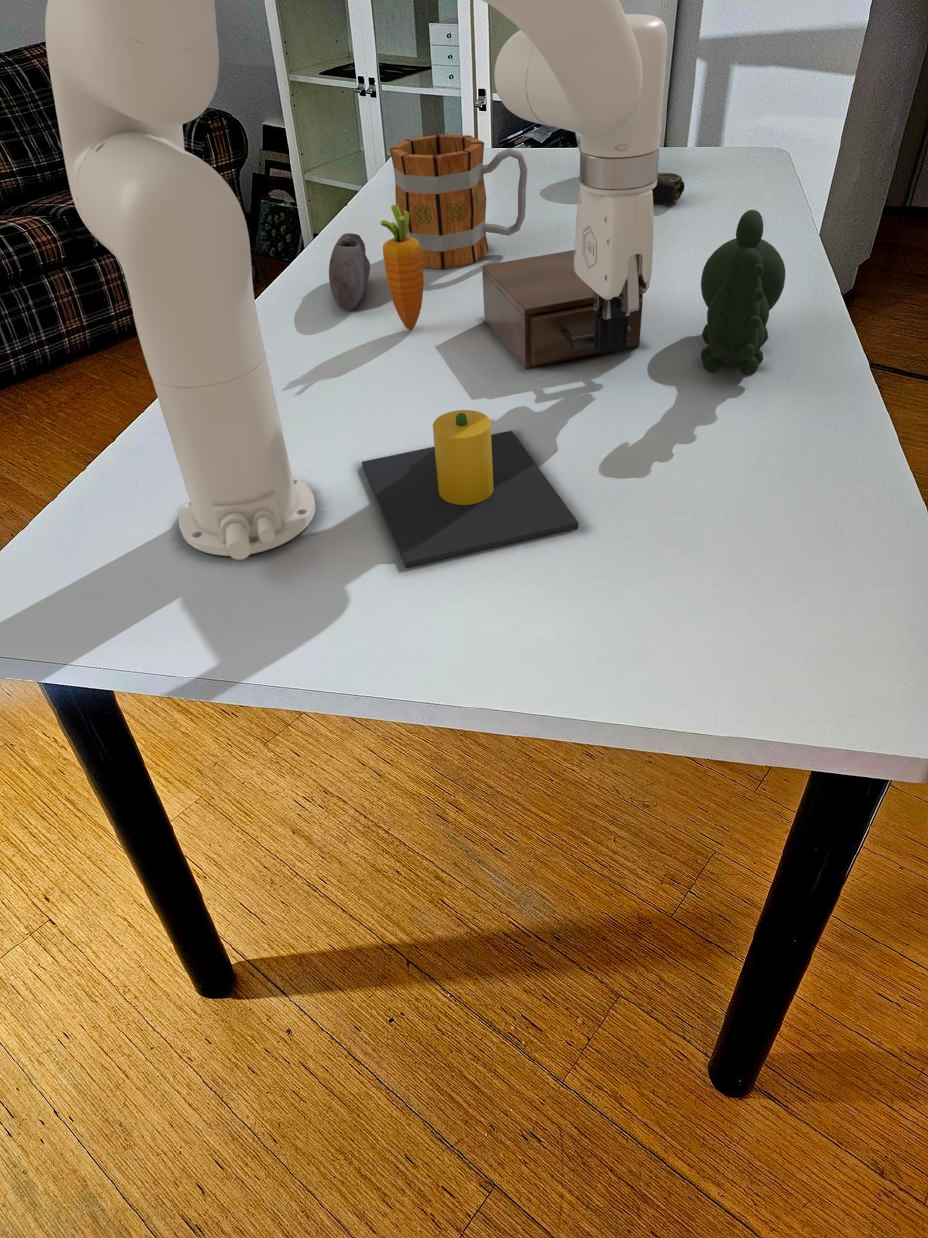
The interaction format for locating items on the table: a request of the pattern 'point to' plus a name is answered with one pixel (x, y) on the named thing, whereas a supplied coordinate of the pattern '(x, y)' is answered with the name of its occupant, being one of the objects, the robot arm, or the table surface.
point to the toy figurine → (740, 297)
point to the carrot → (404, 269)
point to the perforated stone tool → (348, 271)
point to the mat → (453, 530)
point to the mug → (449, 196)
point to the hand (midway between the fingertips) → (610, 348)
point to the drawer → (571, 333)
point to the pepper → (463, 456)
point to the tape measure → (667, 188)
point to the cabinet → (531, 297)
